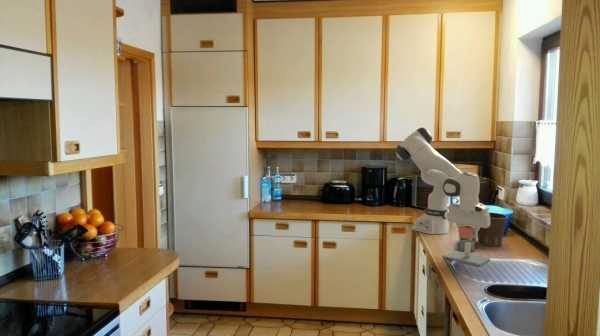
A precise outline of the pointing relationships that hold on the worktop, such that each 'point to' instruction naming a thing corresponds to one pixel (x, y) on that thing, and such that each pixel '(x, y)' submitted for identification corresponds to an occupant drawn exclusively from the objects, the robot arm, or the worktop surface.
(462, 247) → the beverage carton
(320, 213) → the worktop surface
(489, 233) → the plant pot
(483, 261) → the post board
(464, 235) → the collar
